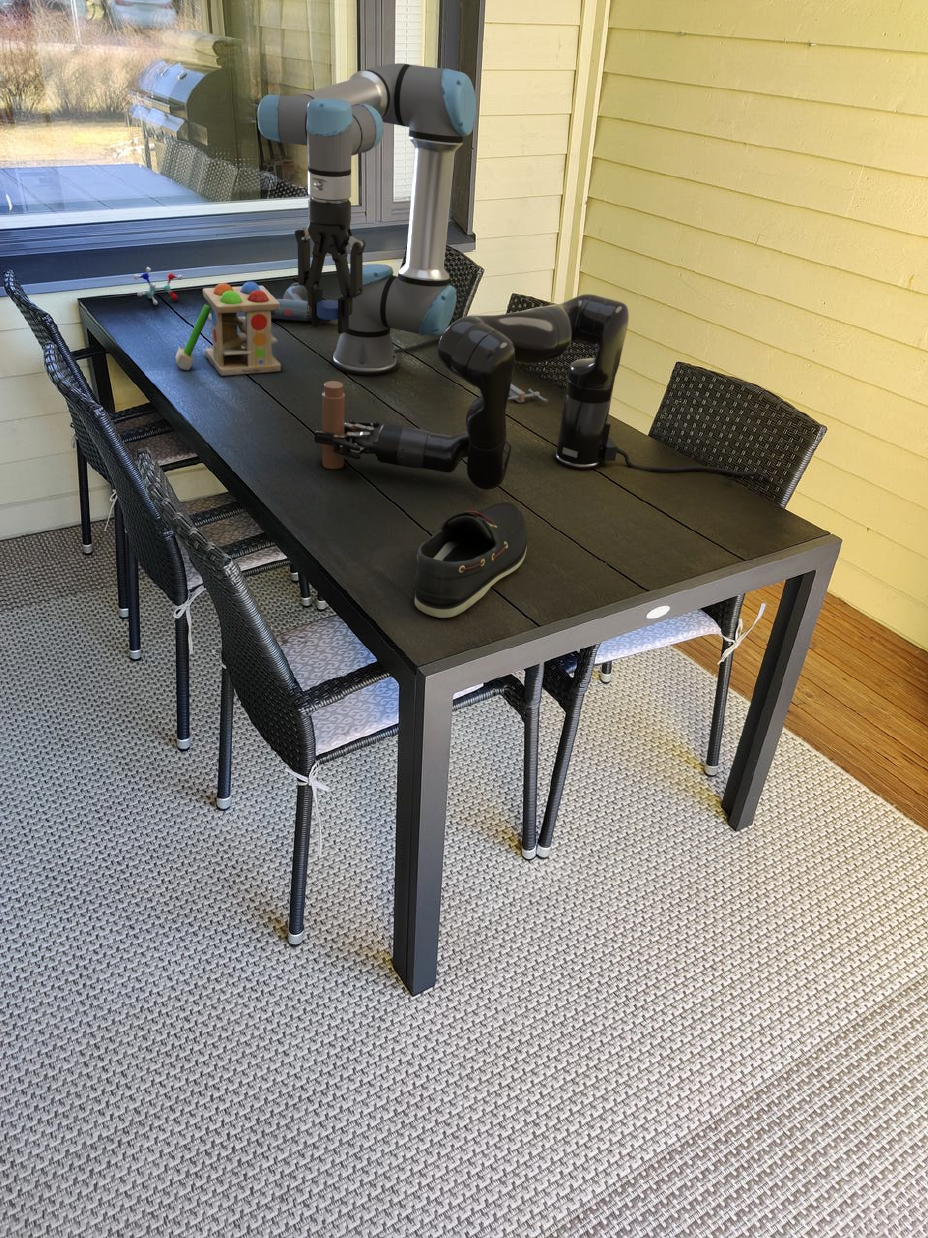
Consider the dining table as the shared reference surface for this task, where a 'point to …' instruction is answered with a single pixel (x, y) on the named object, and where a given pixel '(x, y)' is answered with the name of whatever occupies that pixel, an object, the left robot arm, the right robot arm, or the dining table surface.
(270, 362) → the pounding bench toy
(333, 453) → the jar
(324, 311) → the lid
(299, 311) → the power drill
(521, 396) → the clamp
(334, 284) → the dining table surface
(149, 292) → the molecular model
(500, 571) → the boat shoe
